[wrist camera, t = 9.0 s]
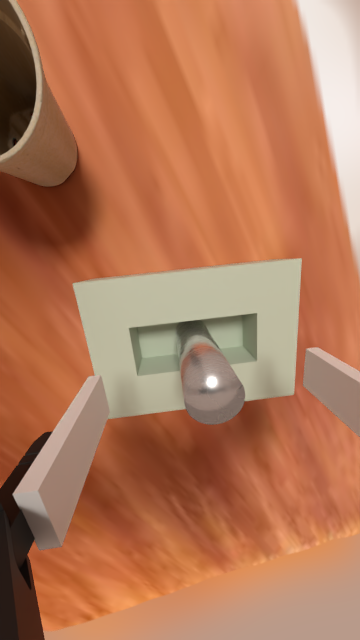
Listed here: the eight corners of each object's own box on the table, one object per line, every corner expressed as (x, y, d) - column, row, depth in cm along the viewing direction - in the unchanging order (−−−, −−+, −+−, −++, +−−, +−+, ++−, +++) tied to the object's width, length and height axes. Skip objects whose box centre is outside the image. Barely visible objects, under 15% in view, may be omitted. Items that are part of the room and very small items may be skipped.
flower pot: (26, 221, 20) (-70, 193, 12) (-36, 111, 18) (-211, -21, 10) (112, 184, 20) (74, 127, 12) (62, 65, 17) (-33, -113, 9)
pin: (173, 319, 23) (181, 375, 11) (205, 315, 23) (244, 367, 12) (177, 348, 24) (187, 428, 12) (207, 345, 24) (245, 420, 13)
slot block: (92, 279, 22) (72, 283, 17) (273, 259, 23) (301, 258, 18) (116, 390, 26) (105, 419, 21) (271, 371, 27) (293, 394, 22)
